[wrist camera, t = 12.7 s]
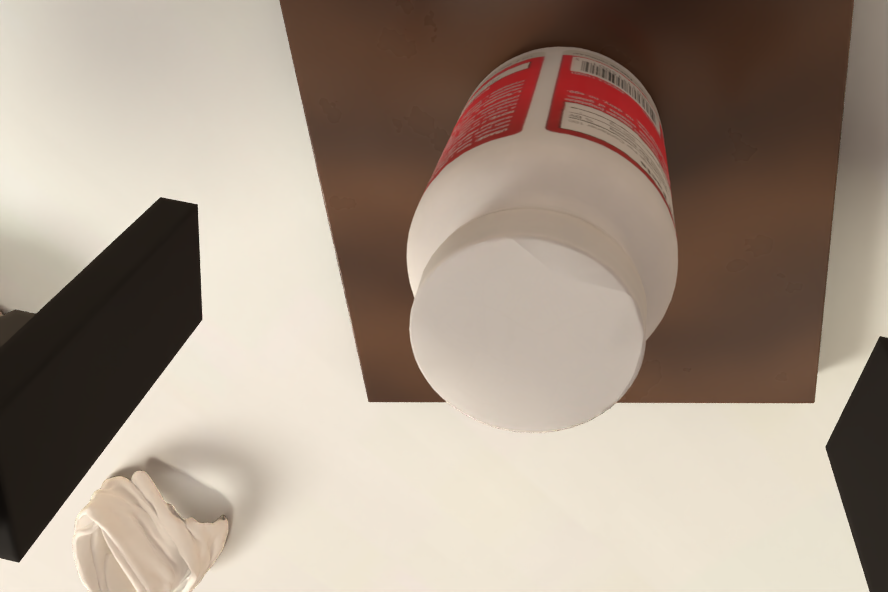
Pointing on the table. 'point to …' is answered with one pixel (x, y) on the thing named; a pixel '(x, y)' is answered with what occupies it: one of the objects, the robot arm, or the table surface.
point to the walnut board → (687, 150)
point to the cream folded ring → (142, 540)
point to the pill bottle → (544, 244)
